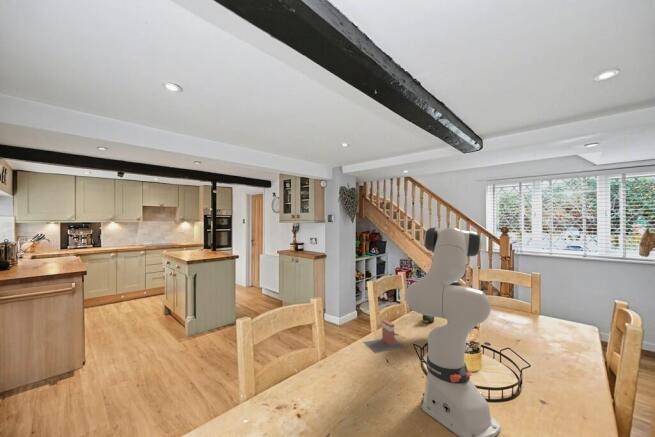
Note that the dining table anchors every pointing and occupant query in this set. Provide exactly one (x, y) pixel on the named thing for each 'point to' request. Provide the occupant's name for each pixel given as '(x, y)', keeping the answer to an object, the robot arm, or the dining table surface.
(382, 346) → the mat
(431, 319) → the food container
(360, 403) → the dining table surface
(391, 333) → the card box
